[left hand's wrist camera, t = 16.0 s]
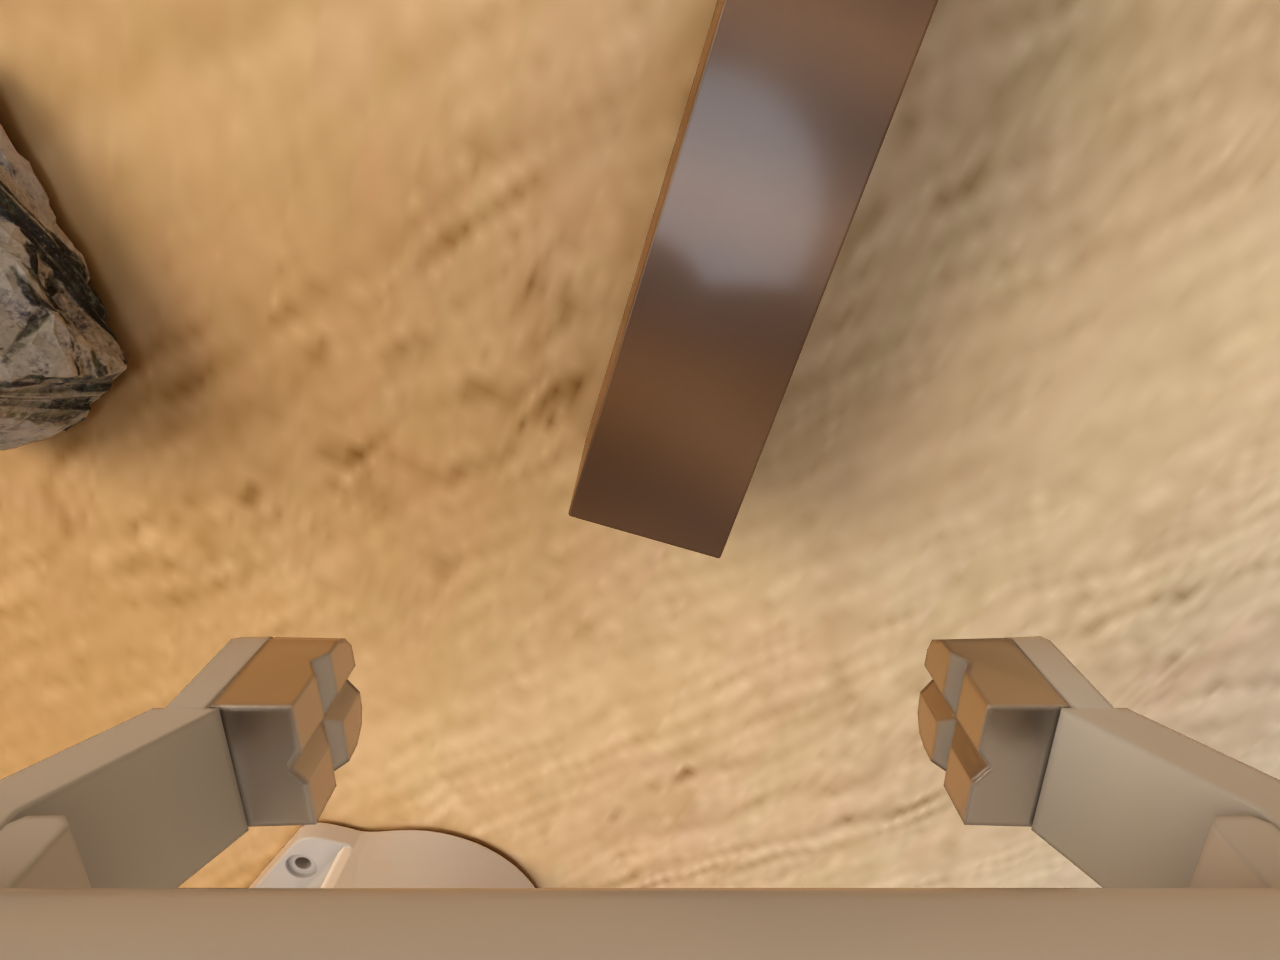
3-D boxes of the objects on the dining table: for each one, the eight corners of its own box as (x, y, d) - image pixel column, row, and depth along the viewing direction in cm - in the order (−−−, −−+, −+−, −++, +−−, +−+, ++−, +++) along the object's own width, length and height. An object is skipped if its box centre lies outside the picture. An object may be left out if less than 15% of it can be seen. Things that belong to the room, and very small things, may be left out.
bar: (701, 477, 33) (720, 559, 25) (585, 442, 32) (567, 516, 25) (947, -196, 24) (1087, -381, 17) (795, -259, 24) (868, -479, 16)
